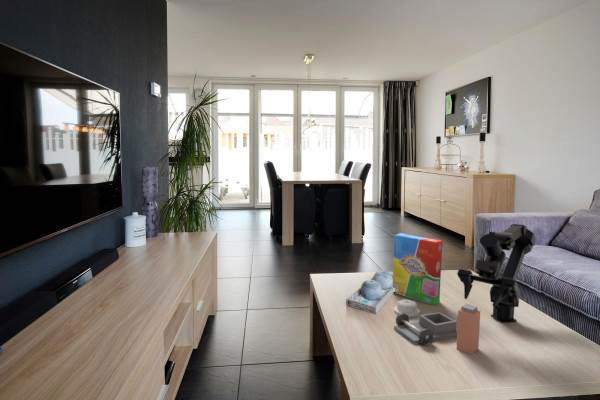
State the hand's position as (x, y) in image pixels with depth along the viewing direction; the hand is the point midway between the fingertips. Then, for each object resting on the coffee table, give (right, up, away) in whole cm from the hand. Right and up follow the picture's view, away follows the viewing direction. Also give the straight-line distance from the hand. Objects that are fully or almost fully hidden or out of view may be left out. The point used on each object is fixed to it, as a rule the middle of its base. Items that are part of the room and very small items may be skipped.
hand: (479, 302), depth 131 cm
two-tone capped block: (-6, -14, -4) cm, 16 cm away
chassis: (-14, -13, +8) cm, 20 cm away
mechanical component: (-17, -11, +26) cm, 33 cm away
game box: (-9, -9, +42) cm, 44 cm away
